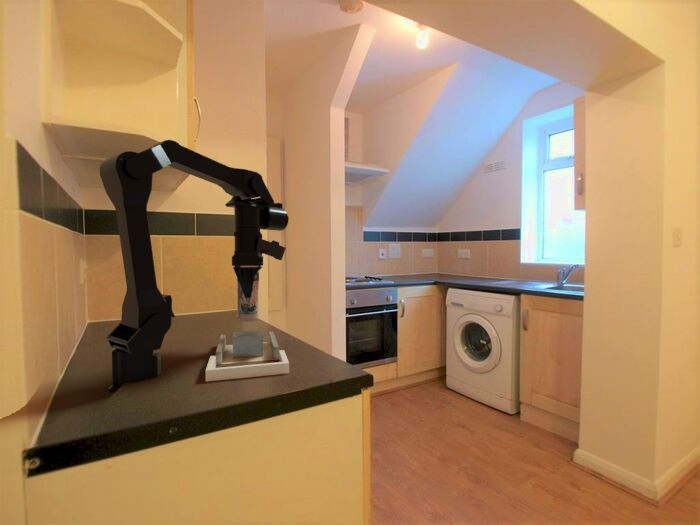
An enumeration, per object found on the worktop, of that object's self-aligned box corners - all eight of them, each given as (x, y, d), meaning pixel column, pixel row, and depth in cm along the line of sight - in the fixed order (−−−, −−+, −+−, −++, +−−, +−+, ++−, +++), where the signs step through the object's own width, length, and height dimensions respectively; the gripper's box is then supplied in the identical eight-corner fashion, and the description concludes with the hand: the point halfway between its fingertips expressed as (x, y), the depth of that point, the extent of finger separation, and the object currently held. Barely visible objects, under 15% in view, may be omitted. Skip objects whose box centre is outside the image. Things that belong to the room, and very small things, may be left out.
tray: (205, 388, 60) (205, 370, 60) (210, 371, 68) (210, 355, 68) (289, 379, 64) (289, 362, 64) (284, 364, 72) (283, 349, 72)
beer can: (237, 322, 79) (236, 268, 78) (237, 318, 83) (237, 267, 83) (259, 321, 80) (259, 268, 80) (258, 317, 85) (258, 267, 84)
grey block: (232, 358, 72) (232, 336, 72) (233, 352, 77) (233, 331, 77) (263, 356, 74) (262, 334, 74) (262, 350, 79) (261, 330, 79)
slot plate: (216, 370, 69) (215, 351, 69) (221, 350, 83) (221, 334, 83) (279, 365, 72) (278, 346, 72) (273, 346, 87) (273, 331, 86)
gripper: (287, 226, 74) (287, 300, 75) (279, 231, 92) (280, 291, 93) (231, 224, 71) (232, 302, 72) (234, 230, 89) (235, 292, 90)
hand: (248, 296), depth 81 cm, fingers closed on beer can, 5 cm apart
